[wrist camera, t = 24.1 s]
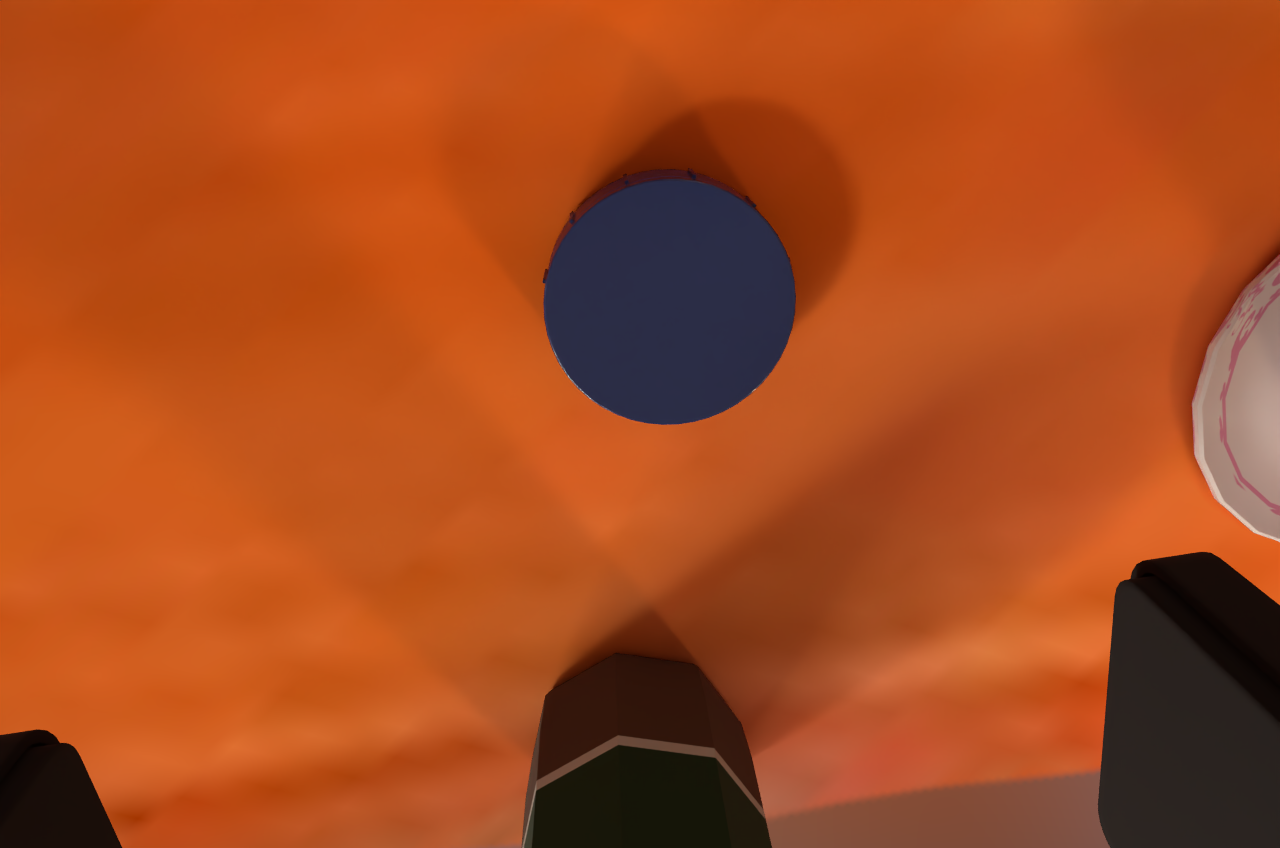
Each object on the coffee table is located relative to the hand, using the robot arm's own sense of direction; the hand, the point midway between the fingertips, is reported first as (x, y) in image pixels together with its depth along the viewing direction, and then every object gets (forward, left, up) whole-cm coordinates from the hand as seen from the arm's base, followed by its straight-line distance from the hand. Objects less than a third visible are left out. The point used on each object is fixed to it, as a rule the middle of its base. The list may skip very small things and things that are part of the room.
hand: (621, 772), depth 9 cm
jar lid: (+2, -1, -19) cm, 19 cm away
